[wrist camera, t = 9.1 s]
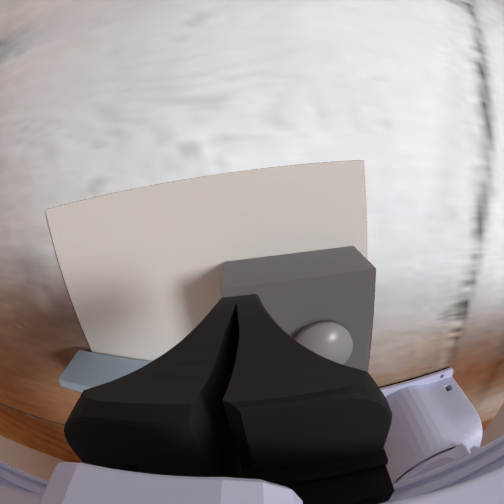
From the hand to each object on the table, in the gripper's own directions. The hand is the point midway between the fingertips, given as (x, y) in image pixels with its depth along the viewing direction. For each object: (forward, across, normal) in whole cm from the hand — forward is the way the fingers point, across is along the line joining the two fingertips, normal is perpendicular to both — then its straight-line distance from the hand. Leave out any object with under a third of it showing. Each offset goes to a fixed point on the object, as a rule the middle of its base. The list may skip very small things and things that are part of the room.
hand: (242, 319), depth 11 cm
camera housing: (+9, -3, +6) cm, 11 cm away
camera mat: (+9, +3, +4) cm, 11 cm away
